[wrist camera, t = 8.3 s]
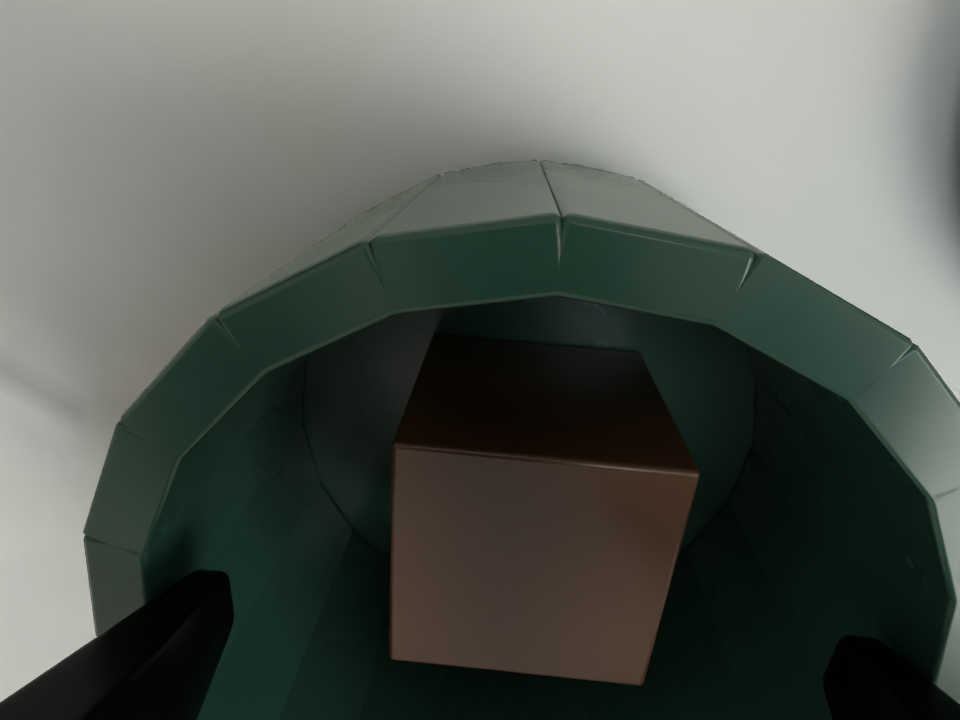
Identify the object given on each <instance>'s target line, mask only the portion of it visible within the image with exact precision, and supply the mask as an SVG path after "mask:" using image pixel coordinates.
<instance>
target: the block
mask: <svg viewBox="0 0 960 720" xmlns="http://www.w3.org/2000/svg"><path fill="white" fill-rule="evenodd" d="M699 476H700V473H699V470H698V468H697V466H696V464H695V462H694V460H693V458H692V456H691V454H690V452H689V450H688V448H687V446H686V444H685V442H684V439H683V437H682V435H681V433H680V431H679V429H678V427H677V425H676V423H675V421H674V419H673V417H672V415H671V413H670V411H669V409H668V407H667V405H666V403H665V401H664V399H663V397H662V395H661V393H660V391H659V389H658V387H657V385H656V383H655V381H654V379H653V377H652V375H651V373H650V371H649V369H648V367H647V365H646V363H645V361H644V359H643V357H642V355H641V354H639V353H635V352H624V351H613V350H602V349H591V348H580V347H569V346H558V345H546V344H535V343H524V342H513V341H502V340H491V339H480V338H469V337H458V336H447V335H433V337H432V339H431V342H430V344H429V347H428V350H427V352H426V355H425V358H424V360H423V363H422V366H421V368H420V371H419V374H418V376H417V379H416V382H415V384H414V387H413V390H412V392H411V395H410V398H409V400H408V403H407V406H406V408H405V411H404V413H403V416H402V419H401V421H400V424H399V427H398V429H397V432H396V435H395V437H394V440H393V443H392V450H391V527H390V604H389V656H390V658H391V659H393V660H399V661H409V662H418V663H428V664H437V665H447V666H456V667H466V668H475V669H485V670H494V671H504V672H513V673H523V674H532V675H542V676H551V677H561V678H570V679H580V680H589V681H599V682H608V683H618V684H627V685H637V686H640V685H642V684H643V683H644V679H645V676H646V672H647V668H648V665H649V661H650V657H651V654H652V650H653V646H654V643H655V639H656V635H657V631H658V628H659V624H660V620H661V617H662V613H663V609H664V606H665V602H666V598H667V595H668V591H669V587H670V583H671V580H672V576H673V572H674V569H675V565H676V561H677V558H678V554H679V550H680V547H681V543H682V539H683V535H684V532H685V528H686V524H687V521H688V517H689V513H690V510H691V506H692V502H693V499H694V495H695V491H696V487H697V484H698V480H699Z"/></svg>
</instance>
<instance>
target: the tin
mask: <svg viewBox="0 0 960 720" xmlns="http://www.w3.org/2000/svg"><path fill="white" fill-rule="evenodd" d="M433 335H447V336H458V337H469V338H480V339H491V340H502V341H513V342H524V343H535V344H546V345H558V346H569V347H580V348H591V349H602V350H613V351H624V352H635V353H639V354H641V355H642V357H643V359H644V361H645V363H646V365H647V367H648V369H649V371H650V373H651V375H652V377H653V379H654V381H655V383H656V385H657V387H658V389H659V391H660V393H661V395H662V397H663V399H664V401H665V403H666V405H667V407H668V409H669V411H670V413H671V415H672V417H673V419H674V421H675V423H676V425H677V427H678V429H679V431H680V433H681V435H682V437H683V439H684V442H685V444H686V446H687V448H688V450H689V452H690V454H691V456H692V458H693V460H694V462H695V464H696V466H697V468H698V470H699V473H700V476H699V480H698V484H697V487H696V491H695V495H694V499H693V502H692V506H691V510H690V513H689V517H688V521H687V524H686V528H685V532H684V535H683V539H682V543H681V547H680V550H679V554H678V558H677V561H676V565H675V569H674V572H673V576H672V580H671V583H670V587H669V591H668V595H667V598H666V602H665V606H664V609H663V613H662V617H661V620H660V624H659V628H658V631H657V635H656V639H655V643H654V646H653V650H652V654H651V657H650V661H649V665H648V668H647V672H646V676H645V679H644V683H643V684H642V685H640V686H637V685H627V684H618V683H608V682H599V681H589V680H580V679H570V678H561V677H551V676H542V675H532V674H523V673H513V672H504V671H494V670H485V669H475V668H466V667H456V666H447V665H437V664H428V663H418V662H409V661H399V660H393V659H391V658H390V656H389V604H390V527H391V450H392V443H393V440H394V437H395V435H396V432H397V429H398V427H399V424H400V421H401V419H402V416H403V413H404V411H405V408H406V406H407V403H408V400H409V398H410V395H411V392H412V390H413V387H414V384H415V382H416V379H417V376H418V374H419V371H420V368H421V366H422V363H423V360H424V358H425V355H426V352H427V350H428V347H429V344H430V342H431V339H432V337H433ZM83 533H84V534H85V537H84V547H85V555H86V562H87V570H88V578H89V586H90V593H91V601H92V609H93V617H94V624H95V632H96V636H97V637H98V636H99V635H100V634H102V633H103V632H105V631H106V630H108V629H109V628H111V627H112V626H114V625H115V624H117V623H118V622H120V621H121V620H123V619H124V618H126V617H127V616H129V615H130V614H131V613H133V612H134V611H136V610H137V609H139V608H140V607H142V606H143V605H145V604H146V603H148V602H149V601H151V600H152V599H154V598H155V597H157V596H158V595H159V594H161V593H162V592H164V591H165V590H167V589H168V588H170V587H171V586H173V585H174V584H176V583H177V582H179V581H180V580H182V579H183V578H185V577H186V576H188V575H189V574H190V573H192V572H194V571H196V570H199V569H207V570H217V571H223V572H226V573H227V575H228V576H229V580H230V586H231V594H232V601H233V609H234V621H233V626H232V629H231V632H230V635H229V638H228V640H227V643H226V645H225V648H224V651H223V653H222V656H221V658H220V661H219V664H218V666H217V669H216V671H215V674H214V677H213V679H212V682H211V684H210V687H209V690H208V692H207V695H206V697H205V700H204V703H203V705H202V708H201V710H200V713H199V716H198V718H197V720H833V719H832V715H831V712H830V709H829V706H828V703H827V700H826V696H825V693H824V687H823V678H824V673H825V671H826V668H827V666H828V664H829V662H830V659H831V657H832V655H833V653H834V650H835V648H836V646H837V644H838V642H839V640H840V639H841V638H842V637H843V636H845V635H854V636H864V637H872V638H875V639H877V640H879V641H881V642H882V643H884V644H885V645H886V646H887V647H889V648H890V649H891V650H893V651H894V652H895V653H896V654H898V655H899V656H900V657H901V658H903V659H904V660H905V661H906V662H908V663H909V664H910V665H912V666H913V667H914V668H915V669H917V670H918V671H919V672H920V673H922V674H923V675H924V676H925V677H927V678H928V679H929V680H931V681H932V682H933V683H934V684H936V685H937V686H938V687H939V688H941V689H942V690H943V691H944V692H946V693H947V694H948V695H950V696H951V697H952V698H953V699H955V700H956V701H957V702H958V703H960V402H959V401H958V400H957V398H956V397H955V396H954V394H953V393H952V391H951V390H950V389H949V387H948V386H947V385H946V383H945V382H944V381H943V379H942V378H941V376H940V375H939V374H938V372H937V371H936V370H935V368H934V367H933V366H932V364H931V363H930V361H929V360H928V359H927V357H926V356H925V355H924V353H923V352H922V351H921V349H920V348H919V346H917V345H916V344H914V343H912V341H911V340H910V338H908V337H906V336H905V335H903V334H901V333H899V332H898V331H896V330H894V329H893V328H891V327H889V326H888V325H886V324H884V323H883V322H881V321H879V320H877V319H876V318H874V317H872V316H871V315H869V314H867V313H866V312H864V311H862V310H861V309H859V308H857V307H856V306H854V305H852V304H850V303H849V302H847V301H845V300H844V299H842V298H840V297H839V296H837V295H835V294H834V293H832V292H830V291H829V290H827V289H825V288H823V287H822V286H820V285H818V284H817V283H815V282H813V281H812V280H810V279H808V278H807V277H805V276H803V275H801V274H800V273H798V272H796V271H795V270H793V269H791V268H790V267H788V266H786V265H785V264H783V263H781V262H780V261H778V260H776V259H774V258H773V257H771V256H769V255H768V254H766V253H764V252H763V251H761V250H759V249H758V248H756V247H754V246H752V245H751V244H749V243H747V242H746V241H744V240H742V239H740V238H739V237H737V236H735V235H734V234H732V233H730V232H729V231H727V230H725V229H723V228H722V227H720V226H718V225H717V224H715V223H713V222H712V221H710V220H708V219H706V218H705V217H703V216H701V215H700V214H698V213H696V212H695V211H693V210H691V209H689V208H688V207H686V206H684V205H683V204H681V203H679V202H678V201H676V200H674V199H672V198H671V197H669V196H667V195H666V194H664V193H662V192H661V191H659V190H657V189H655V188H654V187H652V186H650V185H649V184H647V183H645V182H644V181H642V180H637V179H635V178H633V177H629V176H624V175H619V174H615V173H611V172H607V171H603V170H598V169H594V168H590V167H586V166H582V165H576V164H566V163H557V162H552V161H547V160H544V161H537V160H530V161H523V162H501V163H494V164H489V165H483V166H478V167H472V168H467V169H461V170H458V171H451V172H446V173H444V174H443V175H436V176H434V177H432V178H431V179H429V180H427V181H425V182H423V183H420V184H418V185H416V186H414V187H412V188H410V189H408V190H406V191H404V192H402V193H400V194H398V195H396V196H394V197H392V198H390V199H389V200H387V201H385V202H383V203H381V204H379V205H378V206H376V207H374V208H372V209H370V210H368V211H366V212H364V213H362V214H360V215H359V216H357V217H356V218H355V219H353V220H352V221H350V222H349V223H347V224H346V225H344V226H343V227H341V228H340V229H338V230H337V231H335V232H334V233H332V234H331V235H329V236H328V237H327V238H325V239H324V240H322V241H321V242H319V243H318V244H316V245H315V246H313V247H312V248H310V249H309V250H307V251H306V252H304V253H303V254H302V255H300V256H299V257H297V258H296V259H294V260H293V261H291V262H290V263H288V264H287V265H285V266H284V267H282V268H281V269H279V270H278V271H276V272H275V273H274V274H272V275H271V276H269V277H268V278H266V279H265V280H263V281H262V282H260V283H259V284H257V285H256V286H254V287H253V288H251V289H250V290H249V291H247V292H246V293H244V294H243V295H241V296H240V297H238V298H237V299H235V300H234V301H232V302H231V303H229V304H228V305H226V306H225V307H223V308H222V309H221V310H220V311H218V312H217V313H215V314H214V315H212V316H211V317H210V318H208V319H207V321H206V322H205V323H204V324H203V325H202V326H201V327H200V328H199V330H198V331H197V332H196V333H195V334H194V335H193V336H192V337H191V339H190V340H189V341H188V342H187V343H186V344H185V345H184V346H183V347H182V349H181V350H180V351H179V352H178V353H177V354H176V355H175V356H174V358H173V359H172V360H171V361H170V362H169V363H168V364H167V365H166V366H165V368H164V369H163V370H162V371H161V372H160V373H159V374H158V375H157V377H156V378H155V379H154V380H153V381H152V382H151V383H150V384H149V386H148V387H147V388H146V389H145V390H144V391H143V392H142V393H141V394H140V396H139V397H138V398H137V399H136V400H135V401H134V402H133V403H132V405H131V406H130V407H129V408H128V409H127V410H126V411H125V412H124V414H123V415H122V417H121V420H120V421H119V422H118V423H117V424H116V427H115V430H114V434H113V437H112V440H111V443H110V447H109V450H108V453H107V456H106V460H105V463H104V466H103V469H102V472H101V476H100V479H99V482H98V485H97V489H96V492H95V495H94V498H93V502H92V505H91V508H90V511H89V515H88V518H87V521H86V524H85V527H84V531H83Z"/></svg>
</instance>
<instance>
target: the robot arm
mask: <svg viewBox="0 0 960 720" xmlns="http://www.w3.org/2000/svg"><path fill="white" fill-rule="evenodd" d="M233 621H234V609H233V601H232V594H231V586H230V580H229V576H228V575H227V573H226V572H223V571H217V570H207V569H199V570H196V571H194V572H192V573H190V574H189V575H188V576H186V577H185V578H183V579H182V580H180V581H179V582H177V583H176V584H174V585H173V586H171V587H170V588H168V589H167V590H165V591H164V592H162V593H161V594H159V595H158V596H157V597H155V598H154V599H152V600H151V601H149V602H148V603H146V604H145V605H143V606H142V607H140V608H139V609H137V610H136V611H134V612H133V613H131V614H130V615H129V616H127V617H126V618H124V619H123V620H121V621H120V622H118V623H117V624H115V625H114V626H112V627H111V628H109V629H108V630H106V631H105V632H103V633H102V634H100V635H99V636H98V637H96V638H95V639H93V640H92V641H90V642H89V643H87V644H86V645H84V646H83V647H81V648H80V649H78V650H77V651H75V652H74V653H72V654H71V655H70V656H68V657H67V658H65V659H64V660H62V661H61V662H59V663H58V664H56V665H55V666H53V667H52V668H50V669H49V670H47V671H46V672H44V673H43V674H41V675H40V676H39V677H37V678H36V679H34V680H33V681H31V682H30V683H28V684H27V685H25V686H24V687H22V688H21V689H19V690H18V691H16V692H15V693H13V694H12V695H10V696H9V697H8V698H6V699H5V700H3V701H2V702H0V720H197V718H198V716H199V713H200V710H201V708H202V705H203V703H204V700H205V697H206V695H207V692H208V690H209V687H210V684H211V682H212V679H213V677H214V674H215V671H216V669H217V666H218V664H219V661H220V658H221V656H222V653H223V651H224V648H225V645H226V643H227V640H228V638H229V635H230V632H231V629H232V626H233ZM823 687H824V693H825V696H826V700H827V703H828V706H829V709H830V712H831V715H832V719H833V720H960V703H958V702H957V701H956V700H955V699H953V698H952V697H951V696H950V695H948V694H947V693H946V692H944V691H943V690H942V689H941V688H939V687H938V686H937V685H936V684H934V683H933V682H932V681H931V680H929V679H928V678H927V677H925V676H924V675H923V674H922V673H920V672H919V671H918V670H917V669H915V668H914V667H913V666H912V665H910V664H909V663H908V662H906V661H905V660H904V659H903V658H901V657H900V656H899V655H898V654H896V653H895V652H894V651H893V650H891V649H890V648H889V647H887V646H886V645H885V644H884V643H882V642H881V641H879V640H877V639H875V638H872V637H864V636H854V635H845V636H843V637H842V638H841V639H840V640H839V642H838V644H837V646H836V648H835V650H834V653H833V655H832V657H831V659H830V662H829V664H828V666H827V668H826V671H825V673H824V678H823Z"/></svg>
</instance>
